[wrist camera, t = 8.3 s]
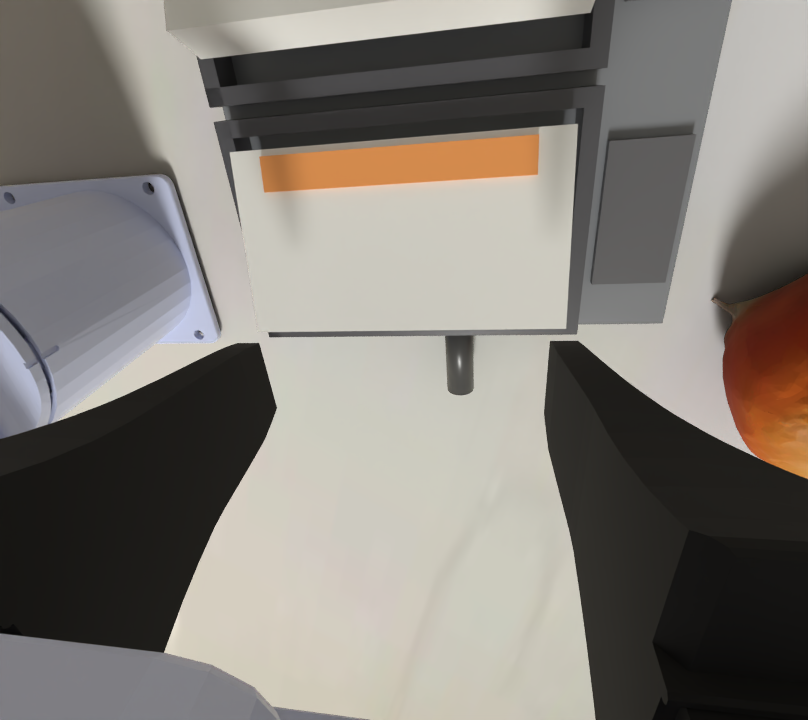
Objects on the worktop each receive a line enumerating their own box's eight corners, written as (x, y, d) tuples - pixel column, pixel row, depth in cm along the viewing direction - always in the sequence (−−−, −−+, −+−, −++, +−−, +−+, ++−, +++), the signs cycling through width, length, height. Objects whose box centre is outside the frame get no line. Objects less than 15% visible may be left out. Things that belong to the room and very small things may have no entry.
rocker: (275, 322, 17) (255, 333, 15) (251, 156, 15) (227, 151, 14) (559, 317, 15) (567, 330, 14) (568, 131, 14) (579, 122, 12)
